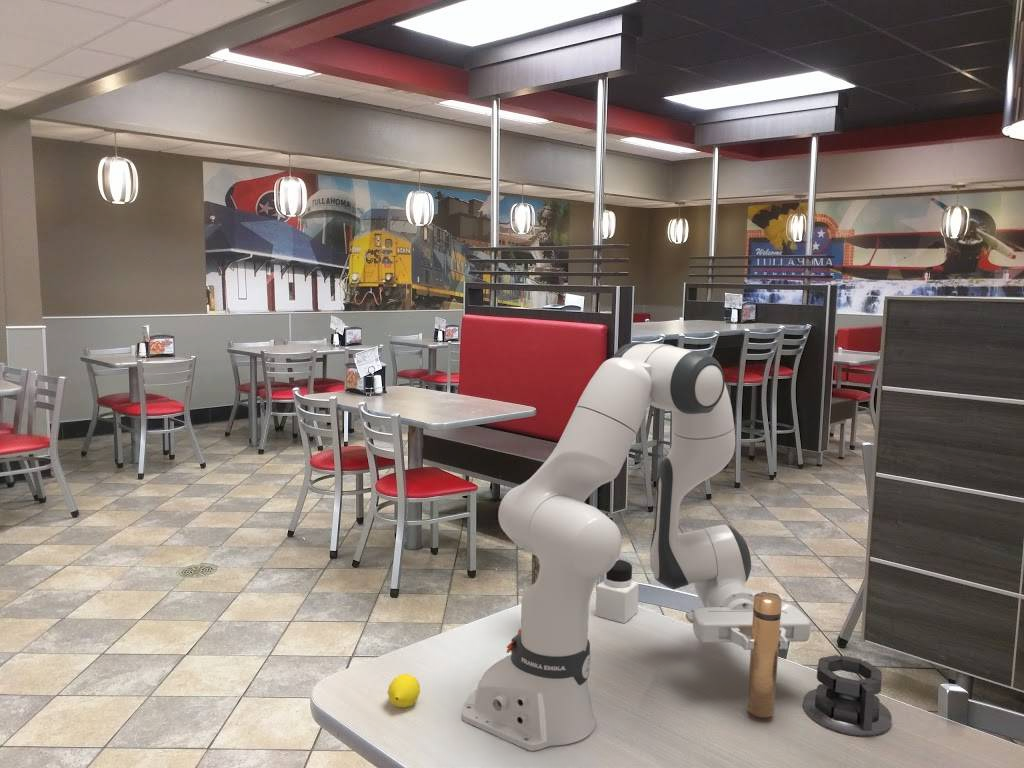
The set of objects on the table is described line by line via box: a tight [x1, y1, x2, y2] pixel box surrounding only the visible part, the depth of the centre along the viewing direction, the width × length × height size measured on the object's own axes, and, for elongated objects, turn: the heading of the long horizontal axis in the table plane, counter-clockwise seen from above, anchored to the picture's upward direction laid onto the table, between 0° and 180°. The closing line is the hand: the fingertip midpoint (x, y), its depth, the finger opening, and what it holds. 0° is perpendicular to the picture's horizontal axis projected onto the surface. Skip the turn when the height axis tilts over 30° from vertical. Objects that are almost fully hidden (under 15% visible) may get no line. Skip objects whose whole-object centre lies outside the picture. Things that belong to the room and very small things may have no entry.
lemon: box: [387, 673, 421, 709], centre depth 136 cm, size 7×5×5 cm
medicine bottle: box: [595, 559, 639, 624], centre depth 174 cm, size 7×7×12 cm
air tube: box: [746, 592, 782, 718], centre depth 133 cm, size 4×4×20 cm
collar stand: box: [802, 654, 892, 738], centre depth 135 cm, size 14×14×8 cm
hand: (767, 645), depth 132 cm, fingers closed on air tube, 4 cm apart
